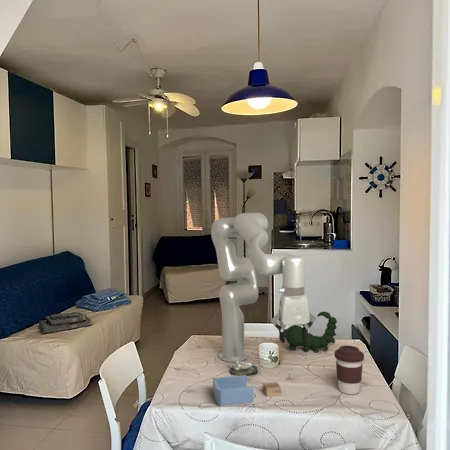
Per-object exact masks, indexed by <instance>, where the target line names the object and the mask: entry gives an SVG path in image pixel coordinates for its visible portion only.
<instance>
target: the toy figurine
mask: <svg viewBox="0 0 450 450" xmlns="http://www.w3.org/2000/svg"><path fill="white" fill-rule="evenodd" d="M316 316H317V317H321V316H322V317H324V318H325V319H326V320H327V319H328V320H327V321H328V322H327V324H326V329H325V330H324V333H323V334H322V335H321V336H318V335H313V334H311V333H310V332H308V338H307V342H305V341H304V340H303V339H302V328H303V326H302V325H301V326H300V325H289V326H288V328H285V329H284V332H285V342H287V344H288V348H289V349H290V350H291V351H295V350H296V348H299V347H302V348H303V350H304V351H305V352H309V351H310V349H312V350H313V351H314V353H316V354H317V353H319V351H320V350H321V349H323V351H328V350H329V344H330V343H332V344H335V343H336V340H335V336H336V335H337V333H336V331H335V330H337V328H338V326H337V323H338V320H337V319H336V318H335V316H332V315H331V313H330V312H328V311H319V313H318V314H317V315H316Z"/></svg>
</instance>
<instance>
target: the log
mask: <svg viewBox="0 0 450 450" xmlns="http://www.w3.org/2000/svg"><path fill="white" fill-rule="evenodd" d="M258 373H259V369H258V367H257V366H256V365H253V364H252V363H251V362H247V361H245V362H244V361H237V362H233V364H231V365H230V369H229V374H230V375H231V376H243V375H246V376H247V377H252V376H256V375H257V374H258Z"/></svg>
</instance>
